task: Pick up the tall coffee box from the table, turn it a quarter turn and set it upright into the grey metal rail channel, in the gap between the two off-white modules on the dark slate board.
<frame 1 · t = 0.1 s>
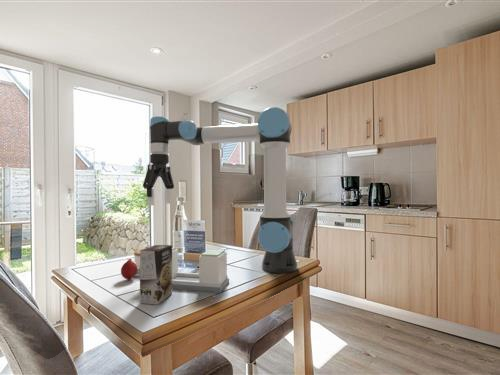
hand: (159, 204, 118), 28 cm above the table, tool pointing down, fingers open, 13 cm apart
onion: (129, 280, 106), on the table
lidded jar: (147, 269, 121), on the table
rail board: (187, 284, 101), on the table
coffee box: (156, 299, 88), on the table
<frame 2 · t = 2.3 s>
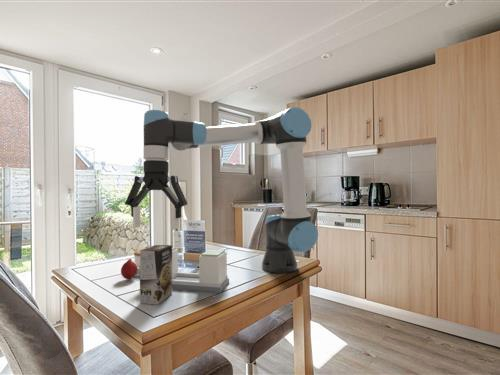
hand: (155, 228, 88), 22 cm above the table, tool pointing down, fingers open, 13 cm apart
nothing on the table moved.
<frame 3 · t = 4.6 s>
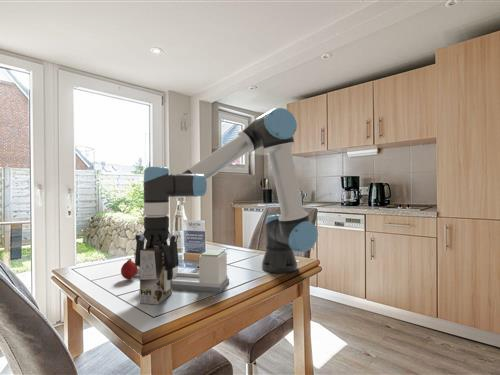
hand: (156, 288, 88), 3 cm above the table, tool pointing down, fingers closed on coffee box, 6 cm apart
coffee box: (156, 299, 88), on the table, touching gripper
everything else where it was.
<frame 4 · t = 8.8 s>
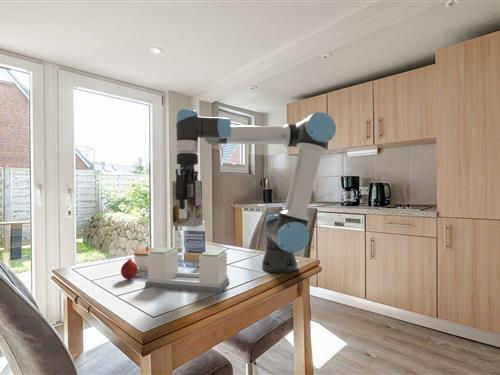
hand: (187, 217, 101), 24 cm above the table, tool pointing down, fingers closed on coffee box, 6 cm apart
coffee box: (187, 226, 101), point 21 cm above the table, touching gripper
everything else where it was.
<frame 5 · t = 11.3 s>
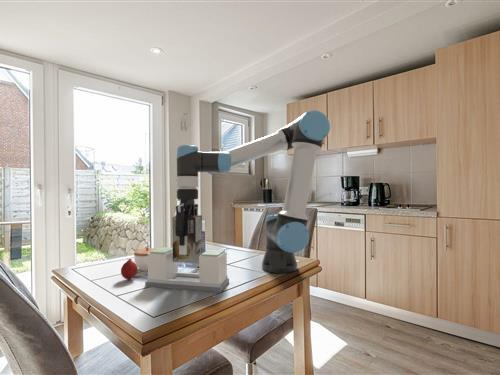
hand: (187, 252, 101), 12 cm above the table, tool pointing down, fingers closed on coffee box, 6 cm apart
coffee box: (187, 260, 101), point 8 cm above the table, touching gripper
everything else where it was.
when the fingers open (6 cm above the table, at t = 13.2 s): coffee box drops 1 cm, resting on rail board.
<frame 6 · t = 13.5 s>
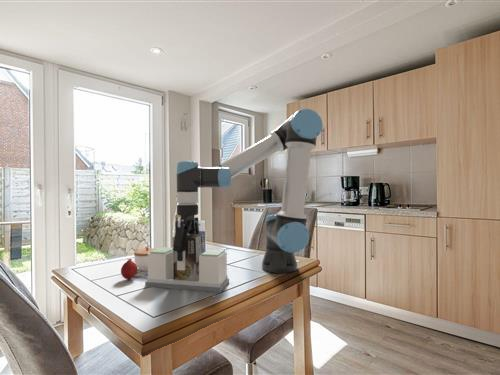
hand: (187, 265, 101), 7 cm above the table, tool pointing down, fingers open, 10 cm apart
coffee box: (188, 280, 101), point 1 cm above the table, touching rail board
everything else where it was.
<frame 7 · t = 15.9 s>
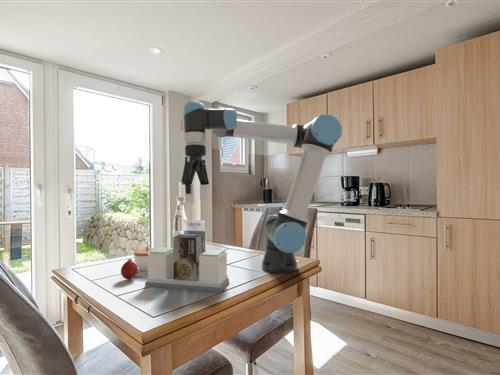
hand: (197, 202, 104), 29 cm above the table, tool pointing down, fingers open, 13 cm apart
nothing on the table moved.
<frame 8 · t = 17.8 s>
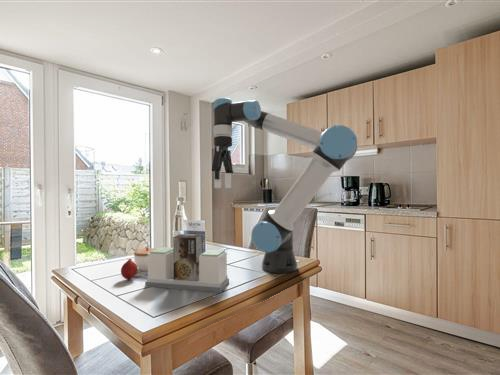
hand: (223, 188, 116), 35 cm above the table, tool pointing down, fingers open, 13 cm apart
nothing on the table moved.
at the end: coffee box 0.2 cm off-centre on the rail board, point 1.3 cm above the rail board's base; coffee box tilted 0°; the gripper is holding nothing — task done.
